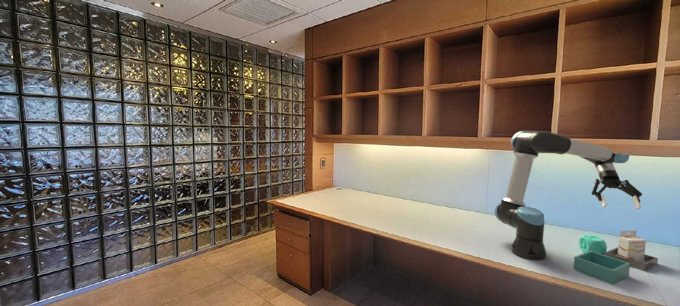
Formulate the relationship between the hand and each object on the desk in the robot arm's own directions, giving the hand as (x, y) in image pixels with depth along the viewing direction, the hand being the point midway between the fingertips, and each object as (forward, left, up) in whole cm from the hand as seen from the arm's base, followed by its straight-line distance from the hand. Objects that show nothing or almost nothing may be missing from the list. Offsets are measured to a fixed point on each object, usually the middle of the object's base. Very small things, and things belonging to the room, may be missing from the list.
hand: (621, 207), depth 142 cm
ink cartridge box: (+7, -8, -24) cm, 26 cm away
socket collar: (+7, -8, -24) cm, 26 cm away
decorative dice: (-6, -13, -24) cm, 28 cm away
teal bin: (+6, -34, -24) cm, 42 cm away
